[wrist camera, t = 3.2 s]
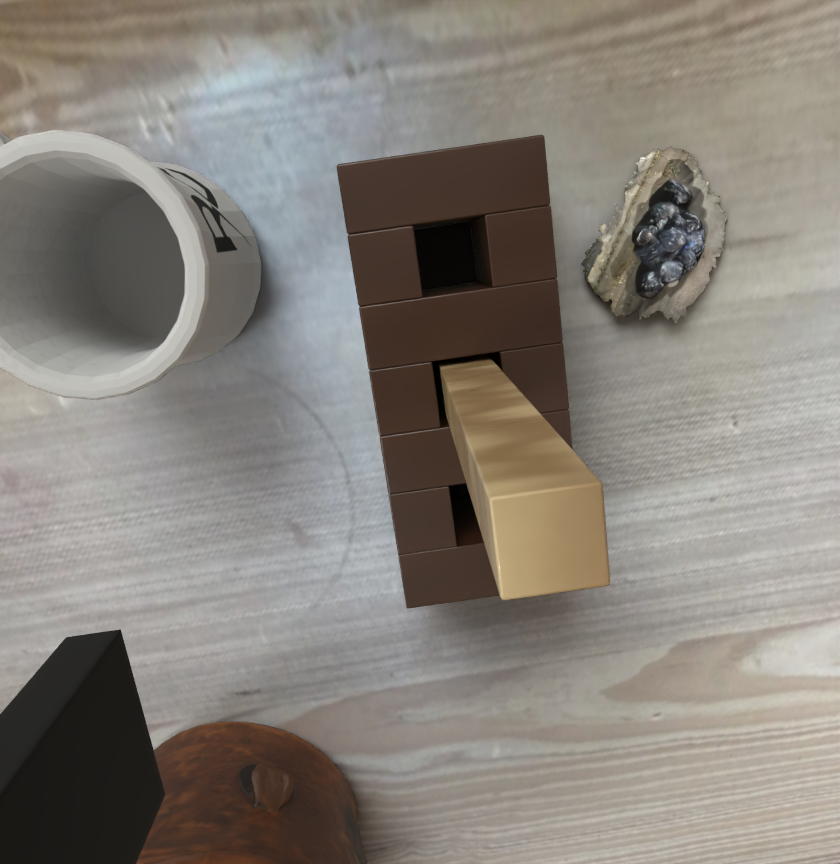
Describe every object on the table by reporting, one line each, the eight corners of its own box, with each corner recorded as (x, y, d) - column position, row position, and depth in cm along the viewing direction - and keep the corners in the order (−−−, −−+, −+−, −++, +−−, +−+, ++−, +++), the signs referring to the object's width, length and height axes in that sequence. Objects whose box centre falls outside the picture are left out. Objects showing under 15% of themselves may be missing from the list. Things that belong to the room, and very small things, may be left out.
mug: (305, 260, 34) (267, 262, 24) (185, 400, 35) (103, 455, 25) (89, 65, 31) (-50, -20, 22) (-29, 223, 33) (-209, 210, 23)
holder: (347, 180, 33) (336, 164, 27) (518, 155, 33) (544, 133, 27) (405, 553, 37) (406, 608, 32) (556, 532, 37) (585, 583, 32)
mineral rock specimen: (571, 313, 35) (581, 316, 33) (596, 138, 33) (608, 131, 31) (706, 325, 35) (723, 329, 33) (738, 152, 33) (758, 147, 31)
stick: (477, 342, 35) (603, 482, 13) (482, 386, 35) (611, 586, 14) (433, 349, 35) (488, 497, 13) (439, 392, 35) (501, 602, 14)
